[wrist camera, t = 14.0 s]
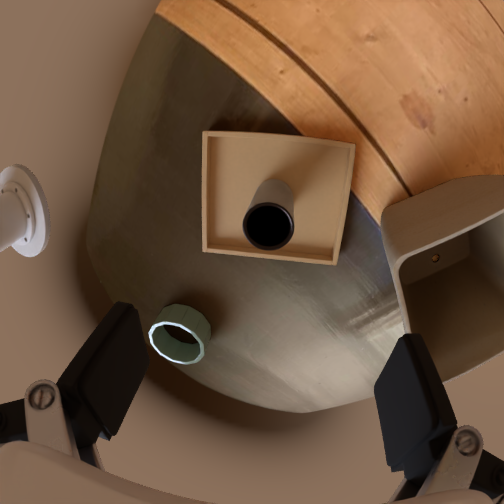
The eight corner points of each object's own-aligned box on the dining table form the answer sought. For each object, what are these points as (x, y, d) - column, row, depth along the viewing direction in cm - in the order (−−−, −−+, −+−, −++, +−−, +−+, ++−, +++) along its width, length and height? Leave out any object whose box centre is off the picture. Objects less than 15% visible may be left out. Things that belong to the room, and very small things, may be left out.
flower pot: (385, 310, 39) (415, 398, 24) (347, 197, 33) (390, 262, 18) (483, 263, 33) (539, 328, 18) (466, 148, 27) (553, 179, 12)
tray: (206, 245, 38) (202, 251, 36) (207, 130, 31) (202, 131, 30) (334, 258, 37) (336, 265, 35) (352, 142, 30) (356, 144, 28)
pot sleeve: (163, 340, 48) (154, 357, 44) (155, 300, 44) (144, 317, 40) (211, 349, 47) (205, 368, 43) (209, 308, 43) (202, 327, 39)
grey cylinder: (294, 179, 32) (296, 203, 23) (292, 215, 34) (292, 253, 25) (255, 177, 33) (241, 200, 24) (255, 213, 35) (241, 249, 26)
